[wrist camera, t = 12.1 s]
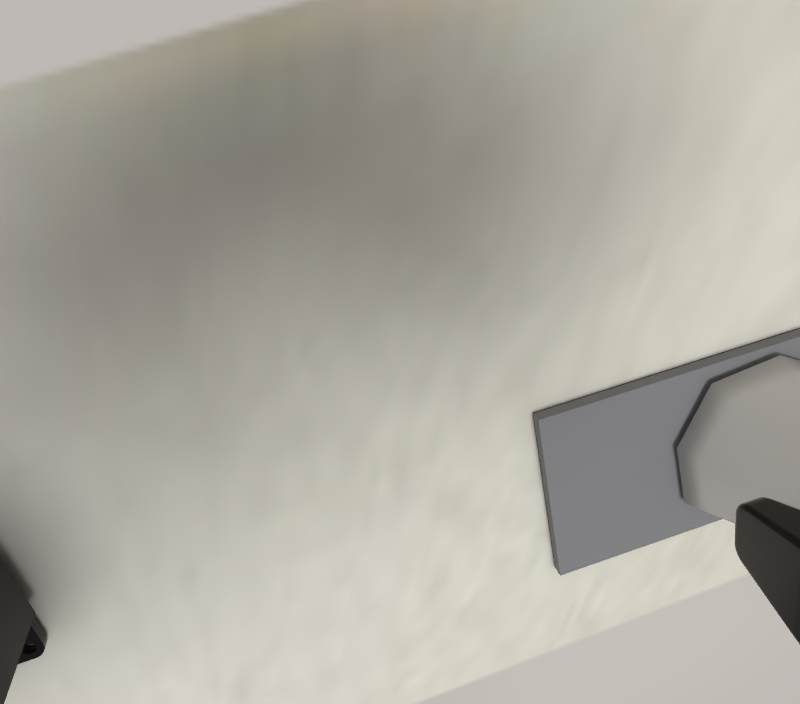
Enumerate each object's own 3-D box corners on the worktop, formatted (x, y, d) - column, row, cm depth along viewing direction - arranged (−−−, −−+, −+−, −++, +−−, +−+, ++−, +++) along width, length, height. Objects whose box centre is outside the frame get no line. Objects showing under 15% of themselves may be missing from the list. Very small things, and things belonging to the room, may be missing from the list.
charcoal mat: (555, 566, 28) (560, 575, 28) (532, 413, 24) (538, 420, 24) (965, 424, 30) (975, 430, 30) (998, 265, 27) (1011, 269, 26)
